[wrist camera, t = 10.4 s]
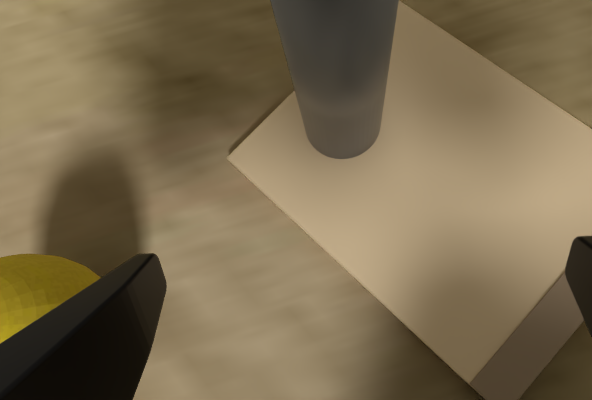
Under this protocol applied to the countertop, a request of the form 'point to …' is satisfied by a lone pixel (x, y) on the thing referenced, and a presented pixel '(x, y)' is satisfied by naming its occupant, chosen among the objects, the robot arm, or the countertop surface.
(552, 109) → the notepad
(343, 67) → the marker
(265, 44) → the countertop surface
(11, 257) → the lemon
